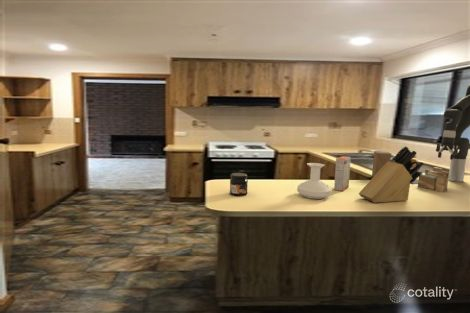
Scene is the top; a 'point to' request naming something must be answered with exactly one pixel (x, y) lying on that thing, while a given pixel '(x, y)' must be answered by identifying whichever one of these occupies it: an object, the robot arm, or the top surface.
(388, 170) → the knife block
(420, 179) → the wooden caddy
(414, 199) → the top surface
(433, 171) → the wooden peg
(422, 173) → the lid
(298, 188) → the white vase
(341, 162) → the cracker box
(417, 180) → the mat
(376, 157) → the wooden block
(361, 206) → the top surface
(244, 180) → the supplement container
